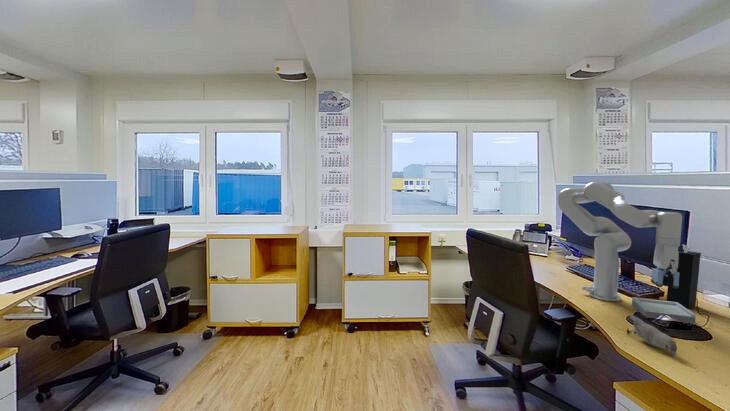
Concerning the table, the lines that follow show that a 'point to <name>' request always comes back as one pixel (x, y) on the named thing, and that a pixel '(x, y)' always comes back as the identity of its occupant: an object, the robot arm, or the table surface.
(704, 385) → the table surface
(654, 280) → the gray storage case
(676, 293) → the black tall block
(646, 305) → the dock
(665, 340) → the decorative bird
